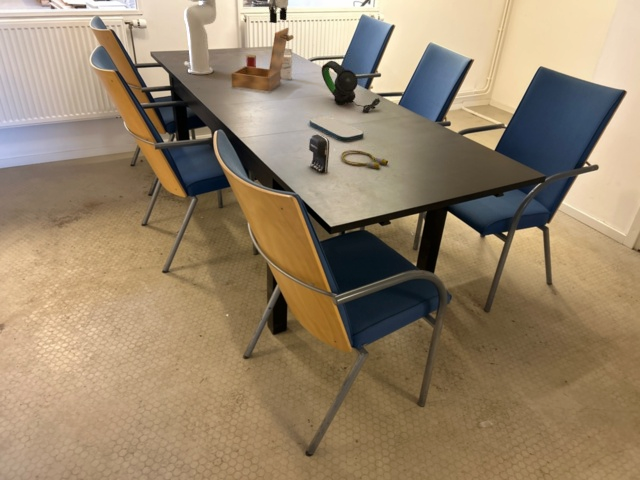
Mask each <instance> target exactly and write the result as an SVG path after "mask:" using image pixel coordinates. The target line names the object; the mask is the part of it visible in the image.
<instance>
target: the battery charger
mask: <svg viewBox="0 0 640 480" xmlns="http://www.w3.org/2000/svg"><path fill="white" fill-rule="evenodd" d="M308 150H309V151H310V152H311V153H312V160H311V163H310V166H309V167H310V168H311V169H312V171H315V173H318V174H326V173H328V168H329V159H330V158H329V157H330V140H329V139H328V137H326V136H325V135H323V134H320V133H317V134H313V135H311V136H310V137H309V145H308Z"/></svg>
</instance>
